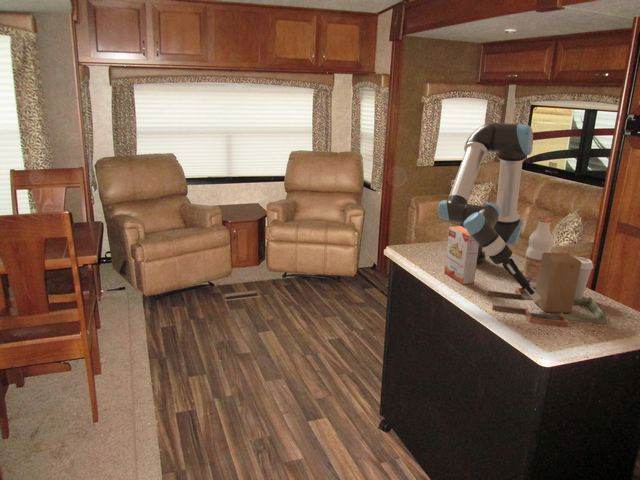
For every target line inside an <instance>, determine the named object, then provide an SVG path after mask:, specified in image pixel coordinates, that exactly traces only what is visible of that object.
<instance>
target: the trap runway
mask: <svg viewBox="0 0 640 480" xmlns="http://www.w3.org/2000/svg"><path fill="white" fill-rule="evenodd" d="M521 288H522V287H515V290H514V292H515V293H513V292H505V291H504V292H503V291H496V290H495V291H493V290H487V296H493V297H494V296H495V297H504V298H512V299H519V300H530V301H533V299H532V298H531V297H530V296H529V294H528V293H527V292H526V291H525V290H524V289H523V290H522V289H521ZM534 289H535V290H536V288H534ZM573 305H582V306H588V308H589V307H590V308H589V309H590V310H591V312H592V311H593V312H592V313H593V314H594V316H595V315H596V316H595V317H591V316H584V315H575V314H569V313H566V314H564V313H560V315H553V314H552V315H551V314H545V313H536V312H530V310H529V308H523V307H513V306H507V305H498V304H492V308H491V309H492V311H493V310H494V311H500V312H501V311H502V312H509V313H510V312H511V313H519V314H525V316H526V319H527V320H528V322H529V323H533V324H534V323H535V324H545V325H552V326H559V327H566V328H567V327H569V326H570V321H577V322H579V321H580V322H587V323H588V322H589V323H595V324H602V323H604V324H605V322H606V321H605V320H606V317H607V315H606V314H605V313H604V312H603V311H602V309H601V308H600V307H599V305H598V304H597V303H596V302H595V300H594V299H593V298H592V297H591V296H588V298H587V300H584V299H574V302H573Z"/></svg>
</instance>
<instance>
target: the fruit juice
mask: <svg viewBox="0 0 640 480" xmlns="http://www.w3.org/2000/svg"><path fill="white" fill-rule="evenodd" d="M537 222H538V224H537V225H536V228H535V229H534V230H533V232H531V234H530V235H529V238H528V247H527V248H526V251H525V257H524V265H523V269H522V274H523V275H524V277H525V278H526V279H527V281H528V280H530V281H531V282H529V283H530V284H531V285H532V287H533V288H534V289H536V286H537V281H538V275H539V270H540V264H541V259H542V254H543V253H553V252H552V247H553V245H554V236H553V235H552V233H551V226H550V225H551V224H552V218H550V217H545V216H544V217H543V216H541V217H538V218H537Z"/></svg>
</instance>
